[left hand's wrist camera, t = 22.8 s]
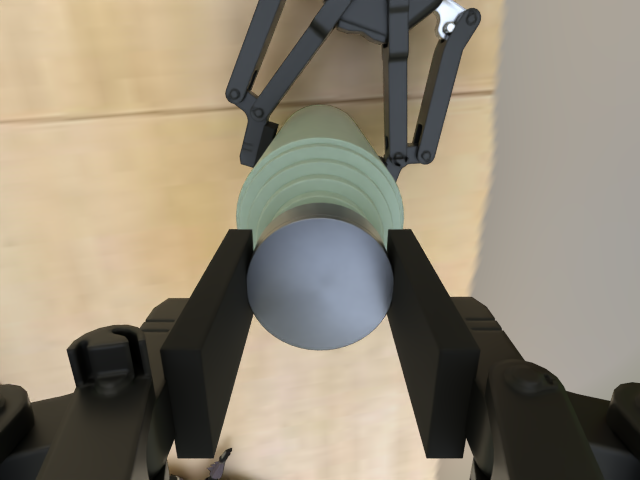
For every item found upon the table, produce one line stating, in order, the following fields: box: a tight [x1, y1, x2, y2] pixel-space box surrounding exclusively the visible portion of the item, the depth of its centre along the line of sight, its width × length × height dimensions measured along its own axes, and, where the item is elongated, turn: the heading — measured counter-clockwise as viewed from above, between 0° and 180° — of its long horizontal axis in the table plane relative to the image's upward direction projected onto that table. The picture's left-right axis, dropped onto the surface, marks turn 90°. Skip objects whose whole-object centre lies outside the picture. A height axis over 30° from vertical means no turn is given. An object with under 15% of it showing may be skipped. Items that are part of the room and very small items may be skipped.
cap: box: [246, 203, 394, 350], centre depth 14 cm, size 4×4×2 cm
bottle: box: [236, 105, 404, 251], centre depth 25 cm, size 7×7×24 cm
